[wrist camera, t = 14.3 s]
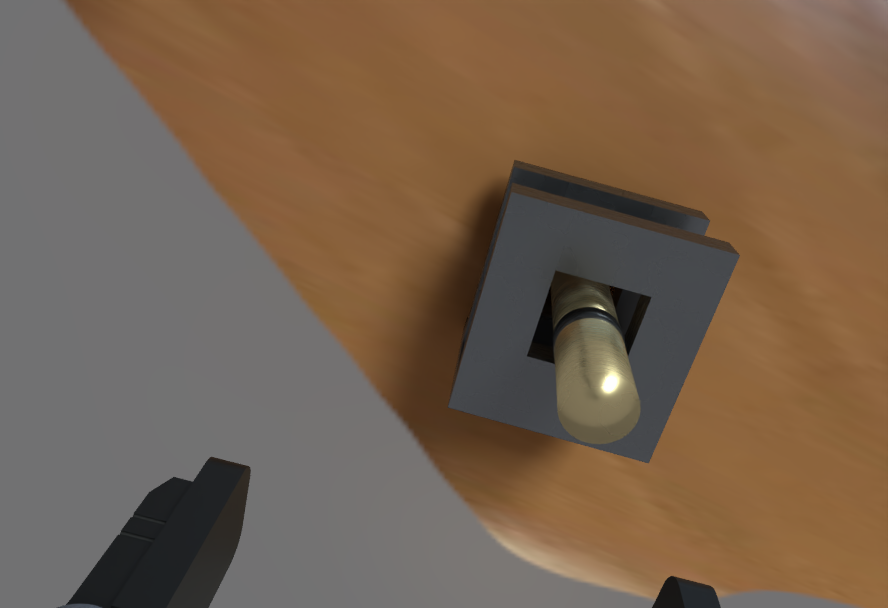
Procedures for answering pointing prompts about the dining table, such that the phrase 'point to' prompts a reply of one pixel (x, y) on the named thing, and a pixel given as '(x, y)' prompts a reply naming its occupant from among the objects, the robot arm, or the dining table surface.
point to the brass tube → (591, 362)
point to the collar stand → (598, 259)
